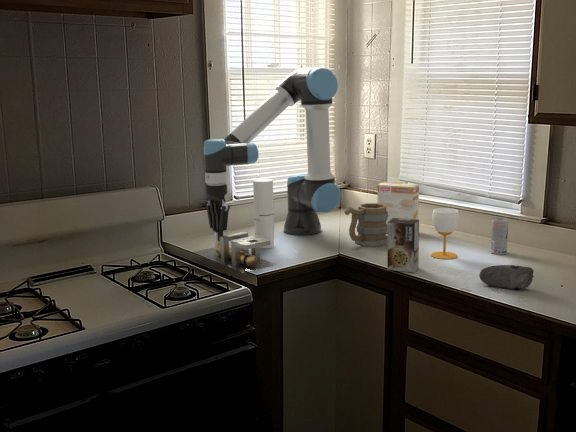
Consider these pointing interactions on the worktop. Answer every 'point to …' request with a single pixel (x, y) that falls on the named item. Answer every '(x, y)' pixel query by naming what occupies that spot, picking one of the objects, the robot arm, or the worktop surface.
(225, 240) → the grey angled bracket piece
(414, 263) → the grey cookie box
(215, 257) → the hearth plate
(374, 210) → the tankard
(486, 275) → the perforated stone tool
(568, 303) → the worktop surface
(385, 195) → the coffeecake box
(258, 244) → the white stool-shaped bracket
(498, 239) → the energy drink
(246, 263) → the tan cylinder
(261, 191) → the cylindrical container
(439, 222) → the cup
